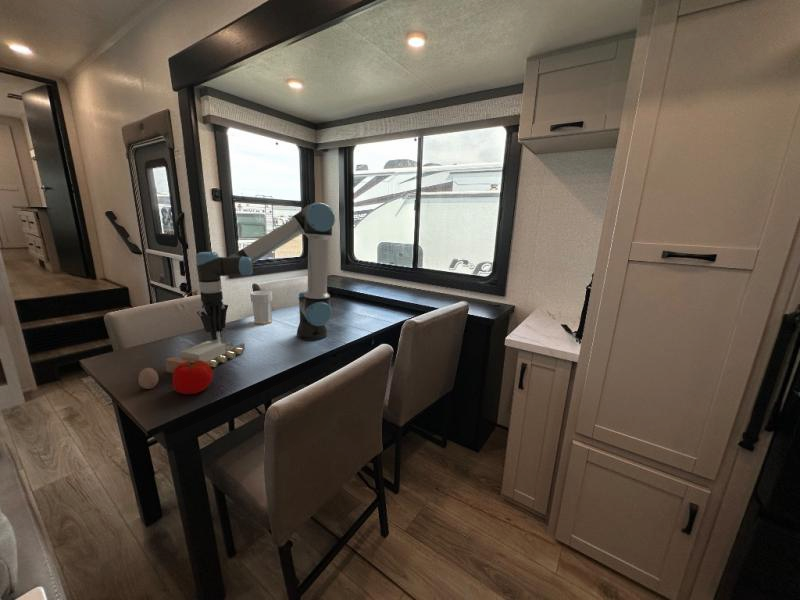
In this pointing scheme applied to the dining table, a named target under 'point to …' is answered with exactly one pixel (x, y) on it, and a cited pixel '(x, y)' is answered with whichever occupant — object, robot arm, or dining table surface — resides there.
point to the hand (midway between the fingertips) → (217, 346)
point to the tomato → (192, 377)
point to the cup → (262, 307)
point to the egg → (148, 378)
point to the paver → (204, 351)
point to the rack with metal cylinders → (230, 353)
